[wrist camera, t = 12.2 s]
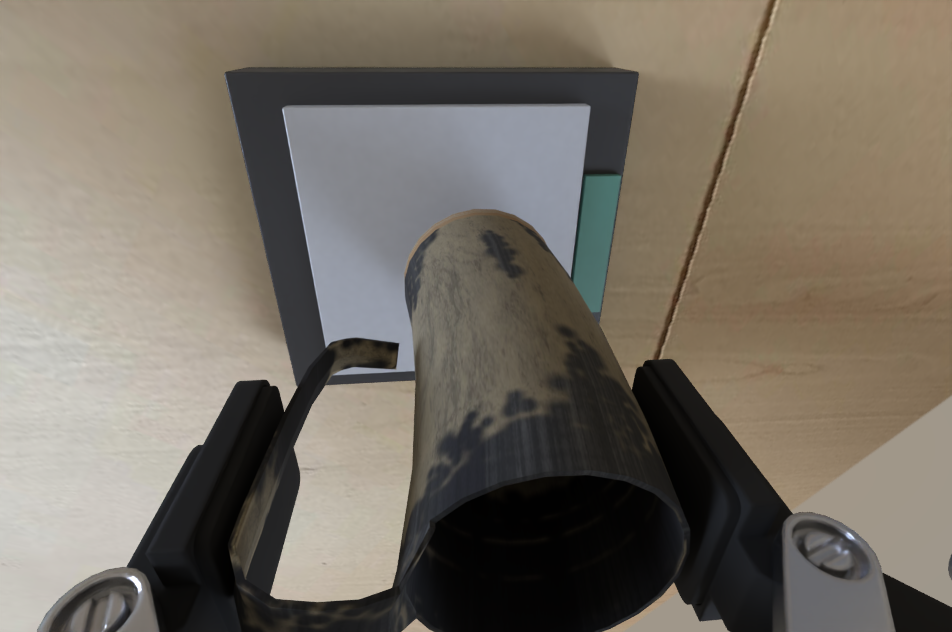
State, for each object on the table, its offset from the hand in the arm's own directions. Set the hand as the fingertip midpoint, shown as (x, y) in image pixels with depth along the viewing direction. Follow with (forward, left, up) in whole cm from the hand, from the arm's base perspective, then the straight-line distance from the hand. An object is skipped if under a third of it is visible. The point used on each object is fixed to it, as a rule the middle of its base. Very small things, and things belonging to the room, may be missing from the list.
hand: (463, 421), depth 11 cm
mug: (0, 0, -8) cm, 8 cm away
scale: (0, 0, -12) cm, 12 cm away
